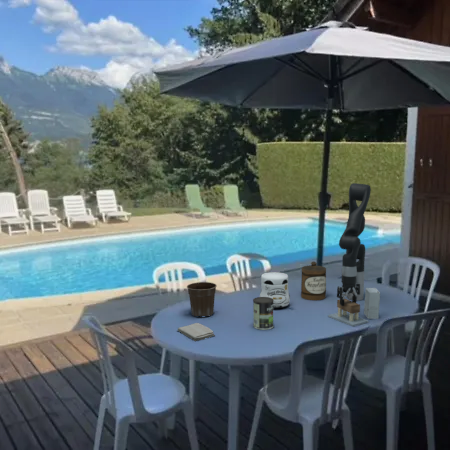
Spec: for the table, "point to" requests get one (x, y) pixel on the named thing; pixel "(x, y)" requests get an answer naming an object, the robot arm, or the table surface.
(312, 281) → the wooden container
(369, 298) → the skincare box
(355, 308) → the plank
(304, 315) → the table surface
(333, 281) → the table surface
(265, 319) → the coffee can
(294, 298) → the table surface
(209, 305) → the plant pot
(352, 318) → the peg stand
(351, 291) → the robot arm
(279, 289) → the milk container
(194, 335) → the washcloth
